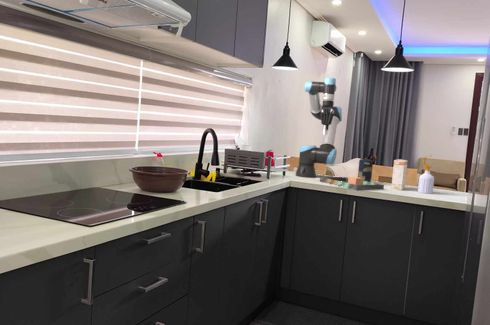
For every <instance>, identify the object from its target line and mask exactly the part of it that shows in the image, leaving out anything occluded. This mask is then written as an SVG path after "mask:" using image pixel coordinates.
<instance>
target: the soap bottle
mask: <svg viewBox="0 0 490 325" xmlns="http://www.w3.org/2000/svg"><path fill="white" fill-rule="evenodd" d="M429 157H431V155H427V156H424V157H423V167H425V168H426V169H424V173H422V174H421V175H419V178H418V179H419V180H418V184H417V185H418V186H417V192H418V193H421V194H428V195H431V194H433V193H434V185H435V176H433V175H432V174H431V170H430V168H431V167H433V165H427V164H426V159H427V158H429Z"/></svg>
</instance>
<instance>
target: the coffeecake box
mask: <svg viewBox="0 0 490 325" xmlns="http://www.w3.org/2000/svg"><path fill="white" fill-rule="evenodd" d="M408 161H409V160H407V159H399V158H398V159H394V160H393V169H392V177H391V178H392V179H391V185H390V186H391V188H390V190H394V189H396V190H397V191H403V190H404V189H405V188H406V179H407V170H408ZM396 190H395V191H396Z"/></svg>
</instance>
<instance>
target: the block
mask: <svg viewBox="0 0 490 325" xmlns="http://www.w3.org/2000/svg"><path fill="white" fill-rule="evenodd" d="M347 178H348V183H350V184H355V185H363V181H364V178H359V177H358V176H348V177H347Z"/></svg>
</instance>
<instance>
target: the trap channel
mask: <svg viewBox="0 0 490 325" xmlns="http://www.w3.org/2000/svg"><path fill="white" fill-rule="evenodd" d="M341 181H342V182H341ZM319 182H320V183H324V182H325V184H328V183H331V184H330V185H332V184H334V186H337V185H339V186H338V187H341V186H343V187H342V188H345V187H346V189H350V190H355V191H368V190H370V189H383V190H384V186H385V184H381V183H376V182H372V181H371V182H367V181H363V185H355V184H350V183H348V177H345V176H344V177H341V176H339V177H337V176H336V177H335V176H333V177H332V176H329V177H328V176H324V177H323V176H321V177H319ZM370 191H371V190H370Z"/></svg>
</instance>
